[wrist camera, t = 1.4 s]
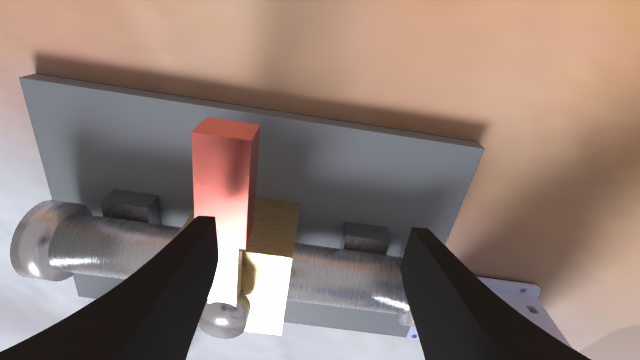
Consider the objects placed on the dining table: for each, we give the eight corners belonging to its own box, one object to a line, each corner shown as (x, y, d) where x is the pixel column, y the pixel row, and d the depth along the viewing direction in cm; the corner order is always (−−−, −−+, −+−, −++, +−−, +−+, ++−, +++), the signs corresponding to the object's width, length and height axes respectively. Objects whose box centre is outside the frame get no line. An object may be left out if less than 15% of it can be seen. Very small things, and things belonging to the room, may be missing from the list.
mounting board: (477, 141, 22) (484, 148, 21) (403, 325, 30) (406, 337, 29) (35, 73, 20) (19, 77, 19) (88, 285, 29) (78, 296, 28)
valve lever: (250, 318, 19) (243, 346, 18) (206, 312, 19) (195, 340, 18) (265, 125, 14) (256, 141, 12) (202, 116, 14) (185, 130, 12)
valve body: (429, 221, 23) (459, 285, 18) (405, 287, 26) (424, 358, 21) (69, 170, 22) (-13, 222, 17) (86, 245, 25) (21, 309, 20)
